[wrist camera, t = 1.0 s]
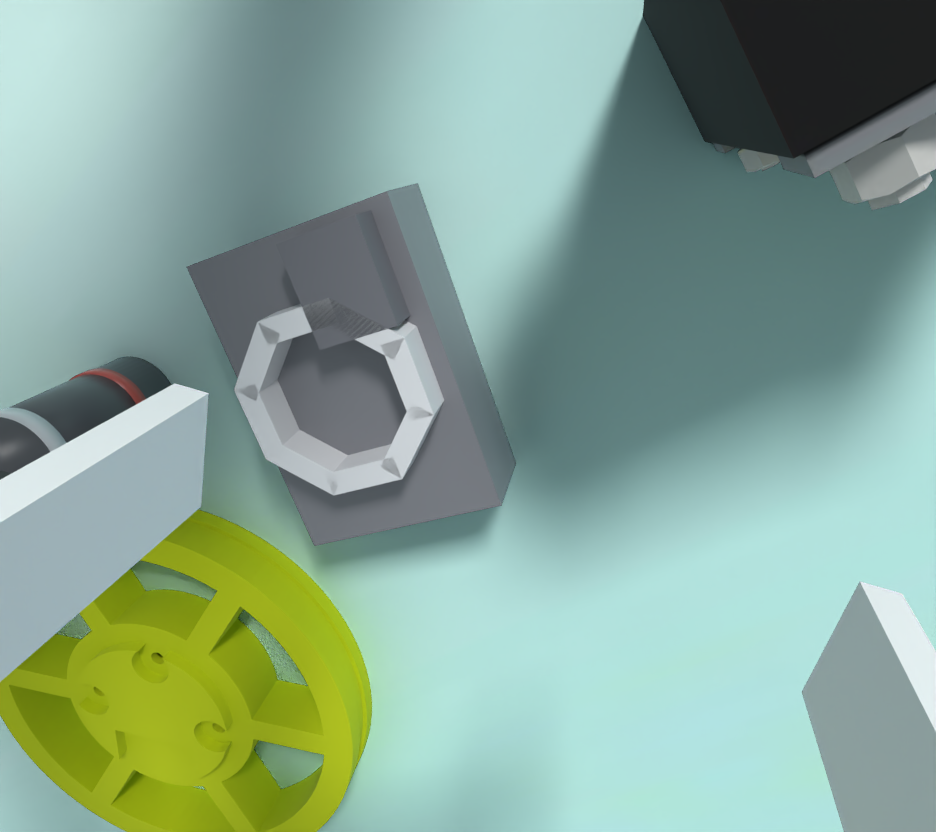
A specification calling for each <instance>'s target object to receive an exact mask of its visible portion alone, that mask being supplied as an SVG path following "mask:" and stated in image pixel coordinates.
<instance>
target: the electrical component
mask: <svg viewBox="0 0 936 832" xmlns="http://www.w3.org/2000/svg"><path fill="white" fill-rule="evenodd" d="M643 17H644V19H645V21H646V23H647V25H648V27H649V29H650V31H651V33H652V35H653V37H654V39H655V41H656V43H657V45H658V47H659V49H660V51H661V53H662V55H663V57H664V59H665V61H666V63H667V65H668V67H669V69H670V72H671V74H672V76H673V78H674V80H675V82H676V84H677V86H678V88H679V90H680V92H681V94H682V96H683V98H684V100H685V102H686V104H687V106H688V108H689V110H690V112H691V114H692V116H693V118H694V120H695V122H696V124H697V127H698V129H699V131H700V133H701V135H702V137H703V139H704V141H705V142H710V143H713V145H714V147H715V149H716V151H719V152H722V153H727V152H728V151H730V150H732V149H734V148H735V147H736V148H740V150H739V151H738V155H739V157H740V159H741V161H742V163H743V165H744V167H745V169H746V171H747V172H756V171H758V170H760V169H762V171H764V170H766V169H768V168H770V167H773V166H775V165H777V164H778V163H780V162H781V165H782V167H783V169H784V170H788V171H791V172H795V173H799V174H802V175H806V176H810V177H813V178H816V177H818V176H820V175H822V174H823V173H825V172H827V171H830V173H831V176H832V178H833V180H834V182H835V184H836V187H837V189H838V191H839V193H840V195H841V197H842V200H843V201H846V202H849V203H852V204H857V203H861V202H864V201H868V202H869V204H870V207H871V209H872V210H875V209H879V208H883V207H887V206H891V205H895V204H899V203H901V202H903V201H905V200H907V199H909V198H911V197H913V196H915V195H916V194H918V193H920V192H922V191H924V190H926V188H927V187H928V186H929V184H930V183H931V181H932V180H933V179H932V177H931V175H930V172H931V171H933V170H935V169H936V0H644V9H643Z"/></svg>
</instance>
